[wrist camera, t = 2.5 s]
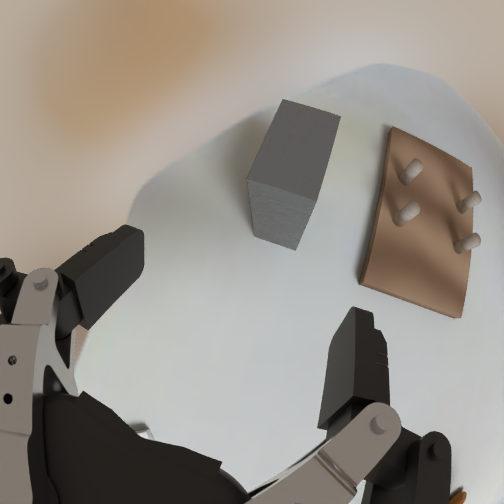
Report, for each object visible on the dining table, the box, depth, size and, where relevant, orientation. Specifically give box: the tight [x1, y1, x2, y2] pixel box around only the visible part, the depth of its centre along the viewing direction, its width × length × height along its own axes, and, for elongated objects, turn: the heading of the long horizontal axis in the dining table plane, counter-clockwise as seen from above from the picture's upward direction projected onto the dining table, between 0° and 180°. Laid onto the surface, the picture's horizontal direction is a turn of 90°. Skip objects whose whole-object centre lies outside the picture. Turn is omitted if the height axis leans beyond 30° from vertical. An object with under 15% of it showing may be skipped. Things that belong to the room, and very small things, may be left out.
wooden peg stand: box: [359, 126, 481, 318], centre depth 21 cm, size 17×11×4 cm, turn 160°
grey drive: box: [247, 99, 341, 251], centre depth 19 cm, size 6×4×10 cm, turn 160°
